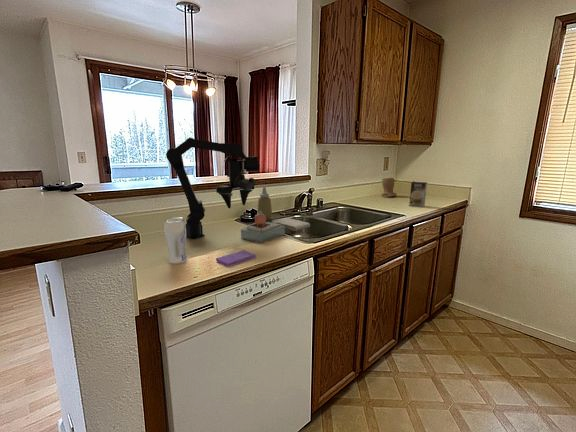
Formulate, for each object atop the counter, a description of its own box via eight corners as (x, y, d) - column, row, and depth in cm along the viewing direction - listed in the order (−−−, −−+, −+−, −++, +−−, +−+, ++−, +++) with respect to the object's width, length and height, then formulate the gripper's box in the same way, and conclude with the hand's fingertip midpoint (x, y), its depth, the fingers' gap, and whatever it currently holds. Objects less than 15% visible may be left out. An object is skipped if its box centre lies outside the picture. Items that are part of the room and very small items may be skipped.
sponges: (256, 258, 114) (255, 253, 114) (227, 268, 105) (227, 263, 105) (243, 254, 119) (243, 249, 118) (215, 262, 110) (215, 257, 109)
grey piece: (262, 243, 130) (262, 230, 129) (241, 238, 137) (240, 225, 136) (288, 232, 145) (288, 221, 144) (268, 229, 152) (268, 217, 151)
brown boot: (384, 194, 259) (385, 176, 255) (398, 195, 252) (400, 177, 248) (376, 196, 247) (378, 177, 244) (391, 198, 240) (393, 178, 237)
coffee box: (408, 206, 210) (410, 182, 206) (410, 204, 215) (412, 181, 211) (423, 207, 205) (425, 183, 201) (424, 205, 210) (427, 182, 207)
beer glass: (170, 257, 113) (167, 217, 110) (190, 257, 114) (187, 217, 110) (164, 265, 106) (160, 222, 103) (185, 264, 107) (182, 222, 104)
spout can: (261, 230, 134) (260, 212, 132) (252, 228, 137) (252, 211, 135) (267, 228, 138) (267, 211, 136) (259, 226, 140) (259, 209, 139)
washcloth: (285, 221, 169) (285, 216, 168) (311, 227, 157) (311, 221, 156) (269, 225, 160) (269, 219, 159) (295, 232, 148) (295, 226, 147)
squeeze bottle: (270, 222, 165) (269, 188, 161) (255, 221, 167) (254, 187, 162) (273, 218, 173) (273, 186, 169) (259, 218, 174) (259, 186, 170)
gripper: (233, 174, 126) (234, 212, 130) (263, 171, 141) (263, 205, 145) (214, 173, 133) (216, 209, 136) (244, 170, 148) (245, 202, 151)
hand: (236, 206), depth 142 cm, fingers open, 9 cm apart
